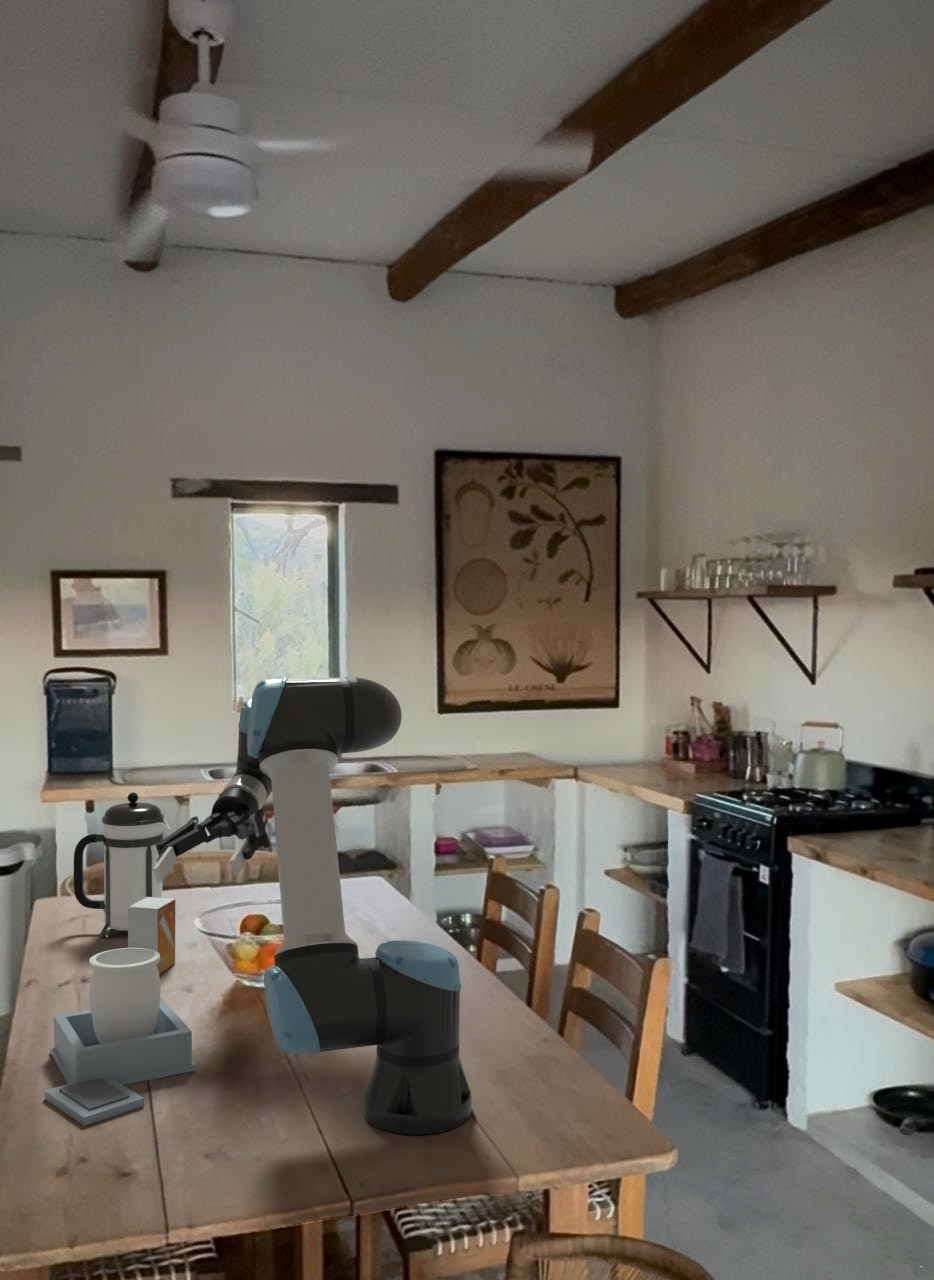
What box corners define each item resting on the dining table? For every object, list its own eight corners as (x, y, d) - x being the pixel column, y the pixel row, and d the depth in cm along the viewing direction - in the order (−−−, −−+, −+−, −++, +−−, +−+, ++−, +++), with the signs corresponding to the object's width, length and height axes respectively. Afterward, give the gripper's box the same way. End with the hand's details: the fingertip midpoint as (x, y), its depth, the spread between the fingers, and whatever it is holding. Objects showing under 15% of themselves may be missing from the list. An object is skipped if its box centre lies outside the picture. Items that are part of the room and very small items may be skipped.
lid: (143, 1106, 166) (143, 1095, 166) (84, 1126, 160) (84, 1115, 160) (103, 1081, 175) (102, 1071, 174) (44, 1099, 168) (44, 1088, 168)
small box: (158, 976, 223) (157, 908, 222) (127, 974, 224) (126, 906, 223) (176, 963, 231) (176, 897, 230) (146, 961, 232) (146, 896, 231)
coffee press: (146, 916, 264) (146, 784, 263) (182, 931, 252) (181, 793, 251) (72, 931, 252) (71, 792, 251) (105, 947, 241) (105, 802, 240)
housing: (196, 1070, 179) (195, 1031, 178) (73, 1095, 170) (73, 1054, 169) (163, 1032, 194) (163, 996, 194) (50, 1052, 185) (50, 1015, 185)
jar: (91, 1068, 176) (90, 969, 176) (88, 1043, 186) (88, 950, 185) (163, 1059, 180) (163, 962, 179) (157, 1035, 189) (157, 943, 189)
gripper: (309, 815, 208) (273, 883, 188) (181, 829, 213) (133, 897, 194) (298, 778, 205) (260, 844, 186) (169, 794, 211) (118, 859, 191)
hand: (195, 871), depth 190 cm, fingers open, 13 cm apart
